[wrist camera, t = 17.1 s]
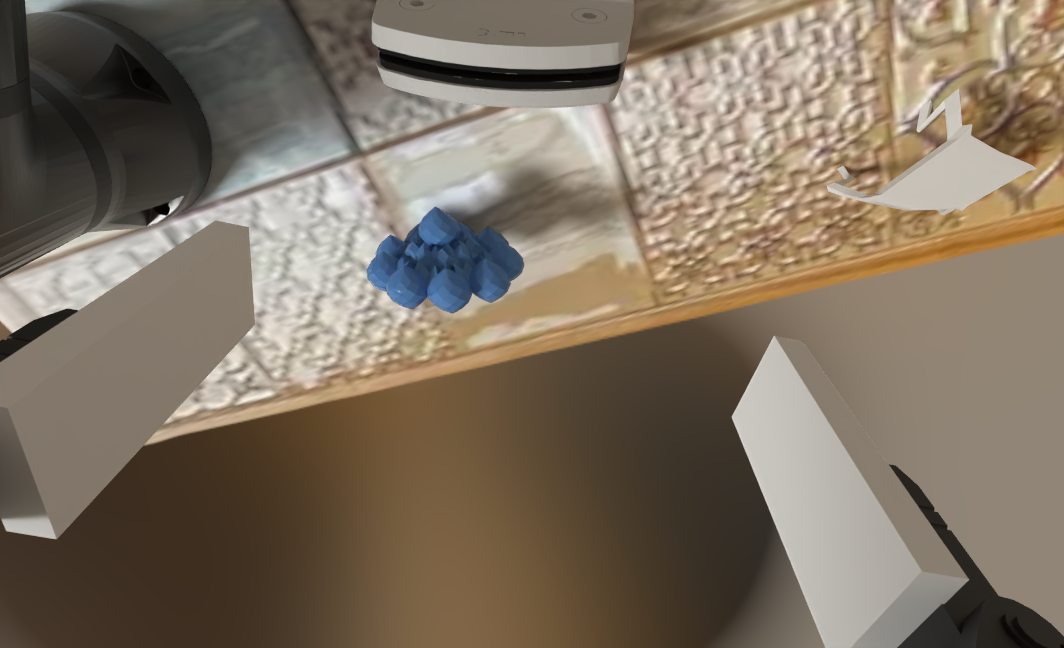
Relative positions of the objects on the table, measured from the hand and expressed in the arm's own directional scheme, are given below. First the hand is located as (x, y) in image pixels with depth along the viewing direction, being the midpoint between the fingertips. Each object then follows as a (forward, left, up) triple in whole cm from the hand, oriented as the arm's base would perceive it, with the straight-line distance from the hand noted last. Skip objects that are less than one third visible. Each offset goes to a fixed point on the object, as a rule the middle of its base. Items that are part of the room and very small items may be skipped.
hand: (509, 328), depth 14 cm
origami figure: (+27, +2, -31) cm, 41 cm away
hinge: (-3, +5, -31) cm, 32 cm away
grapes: (-5, -10, -31) cm, 33 cm away
